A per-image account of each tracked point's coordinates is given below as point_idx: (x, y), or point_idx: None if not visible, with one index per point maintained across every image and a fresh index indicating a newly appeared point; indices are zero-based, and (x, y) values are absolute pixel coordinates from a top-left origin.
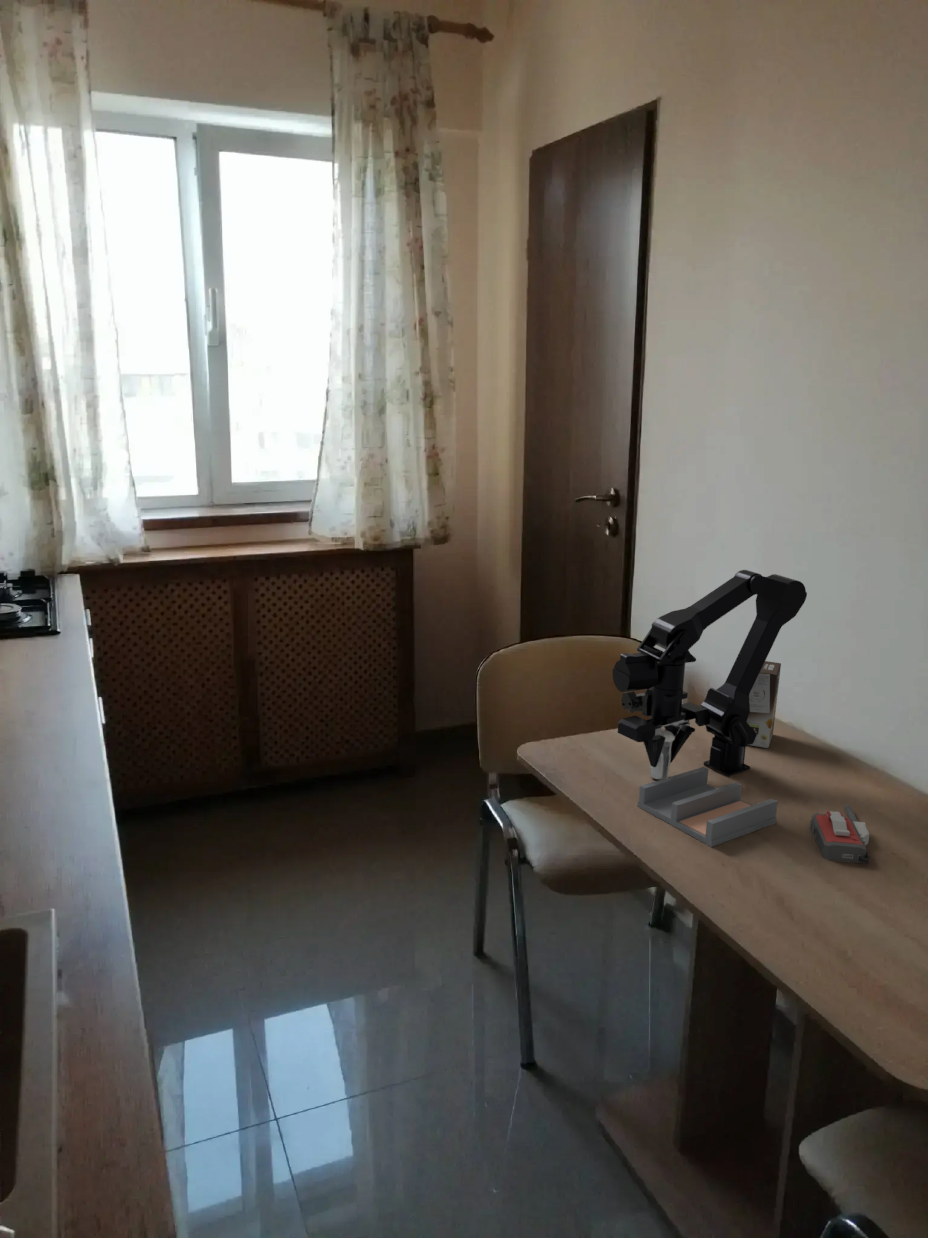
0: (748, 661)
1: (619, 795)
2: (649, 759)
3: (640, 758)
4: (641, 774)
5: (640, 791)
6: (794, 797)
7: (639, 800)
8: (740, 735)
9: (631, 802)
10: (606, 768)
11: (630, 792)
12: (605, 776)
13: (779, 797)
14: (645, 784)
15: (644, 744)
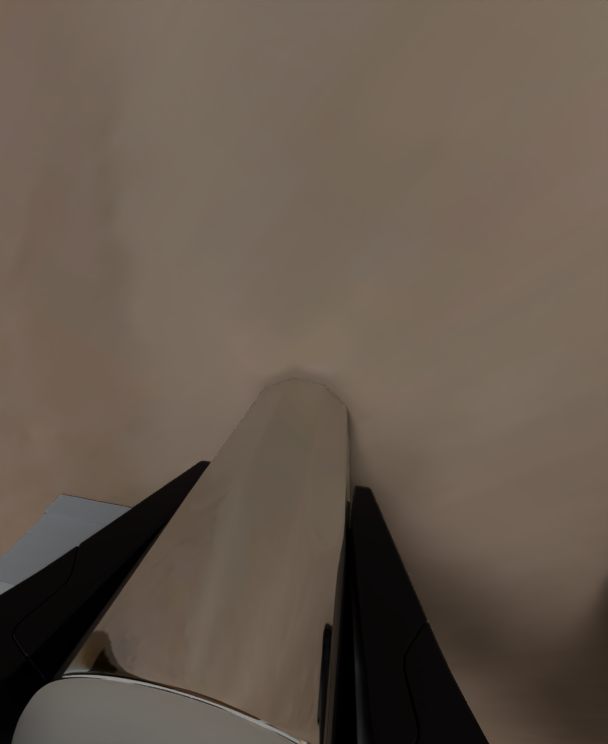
0: None
1: (30, 409)
2: (163, 492)
3: (489, 81)
4: (253, 326)
5: (6, 558)
6: (579, 737)
7: (40, 521)
8: None
9: (54, 466)
10: (89, 99)
11: (86, 420)
12: (35, 215)
13: (540, 714)
14: (9, 584)
15: (7, 594)
